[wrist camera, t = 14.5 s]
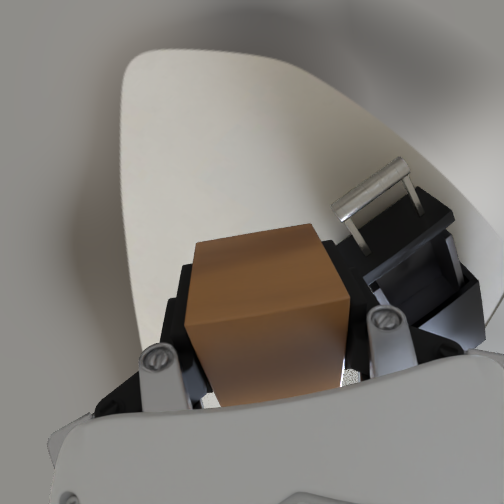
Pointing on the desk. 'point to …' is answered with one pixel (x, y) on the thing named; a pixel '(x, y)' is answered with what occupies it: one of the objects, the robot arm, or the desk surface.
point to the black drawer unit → (458, 315)
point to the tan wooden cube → (267, 315)
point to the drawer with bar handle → (402, 244)
